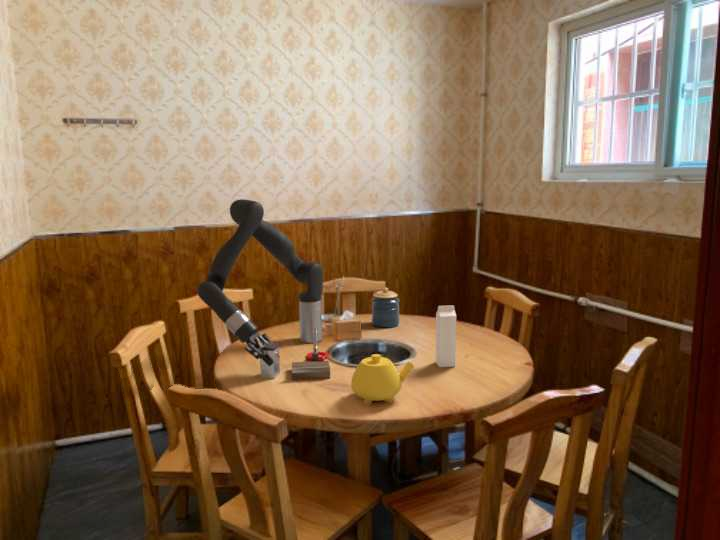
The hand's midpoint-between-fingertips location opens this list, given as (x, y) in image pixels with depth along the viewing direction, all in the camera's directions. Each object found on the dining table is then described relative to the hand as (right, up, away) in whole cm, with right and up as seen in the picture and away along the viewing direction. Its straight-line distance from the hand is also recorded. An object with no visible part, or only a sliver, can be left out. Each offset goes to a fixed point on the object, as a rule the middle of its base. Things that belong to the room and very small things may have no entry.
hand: (274, 361), depth 189 cm
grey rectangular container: (-2, -5, +1) cm, 6 cm away
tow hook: (+13, -2, +21) cm, 25 cm away
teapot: (+37, -8, -18) cm, 42 cm away
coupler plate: (+12, -5, +3) cm, 13 cm away
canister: (+41, +6, +66) cm, 78 cm away
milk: (+61, -3, +11) cm, 62 cm away
